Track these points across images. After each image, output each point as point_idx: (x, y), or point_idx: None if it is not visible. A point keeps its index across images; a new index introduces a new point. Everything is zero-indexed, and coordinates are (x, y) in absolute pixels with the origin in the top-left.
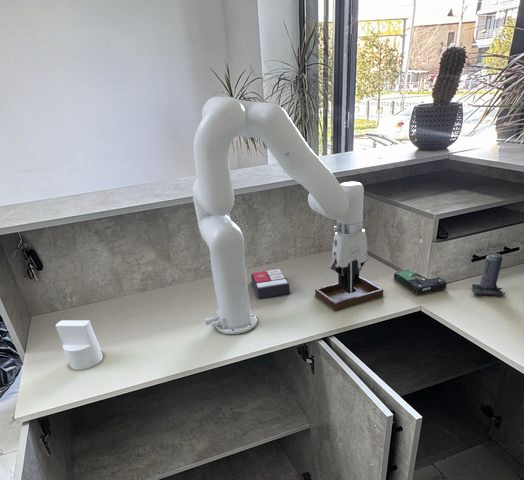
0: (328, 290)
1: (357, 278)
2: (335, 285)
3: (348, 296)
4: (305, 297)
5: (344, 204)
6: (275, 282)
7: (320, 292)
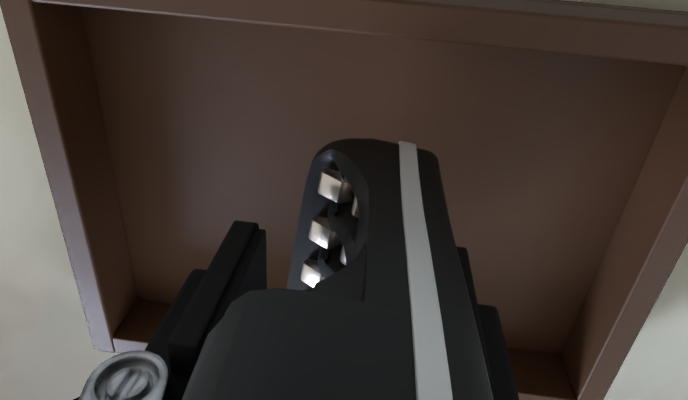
0: None
1: (234, 265)
2: None
3: None
4: (639, 388)
5: None
6: None
7: (621, 352)
